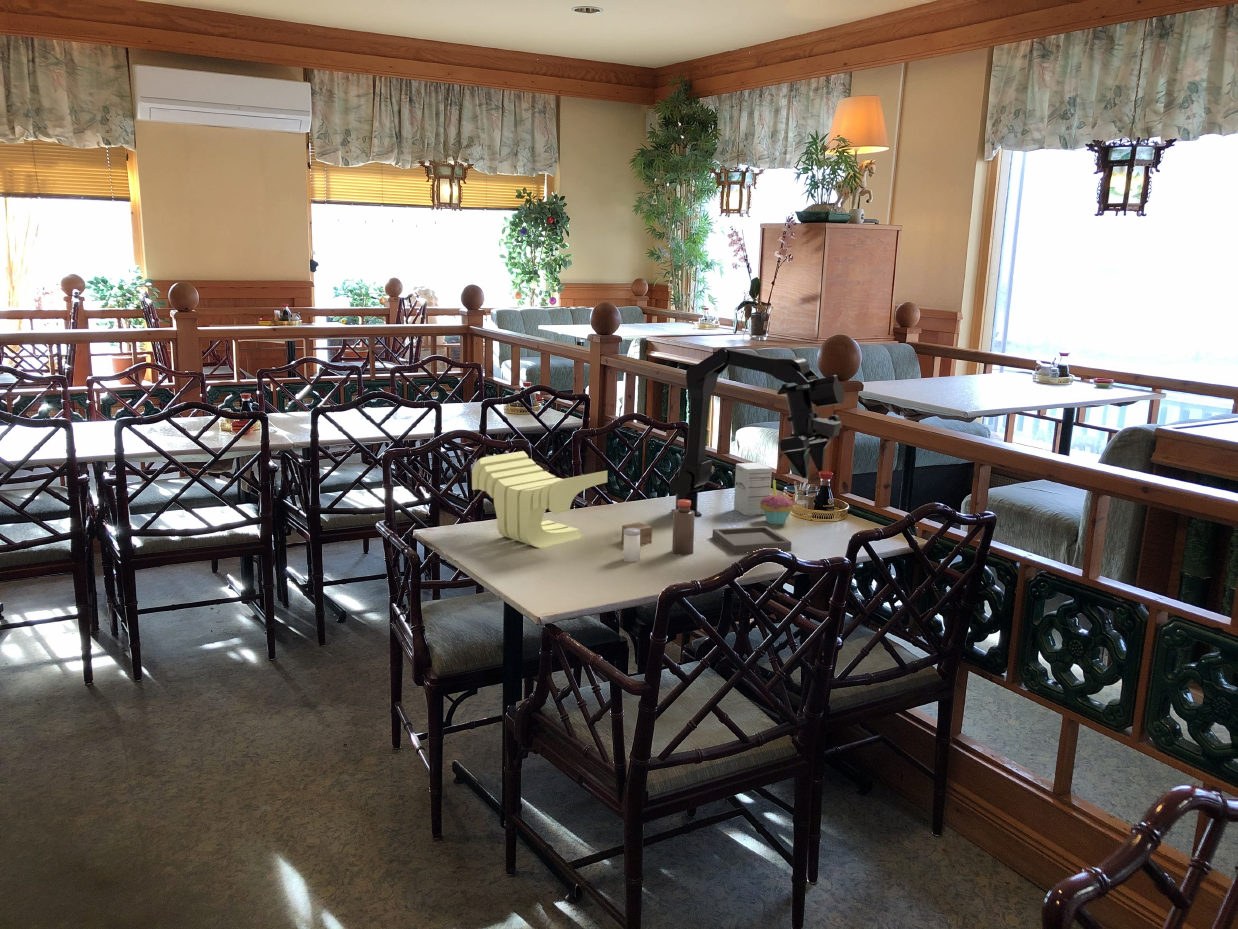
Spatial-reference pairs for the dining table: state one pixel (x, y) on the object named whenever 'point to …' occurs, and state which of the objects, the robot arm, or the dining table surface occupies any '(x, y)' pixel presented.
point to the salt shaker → (631, 544)
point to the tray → (750, 539)
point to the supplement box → (751, 487)
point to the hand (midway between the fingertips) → (812, 474)
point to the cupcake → (776, 507)
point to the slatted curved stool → (529, 497)
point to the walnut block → (644, 532)
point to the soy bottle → (683, 528)
